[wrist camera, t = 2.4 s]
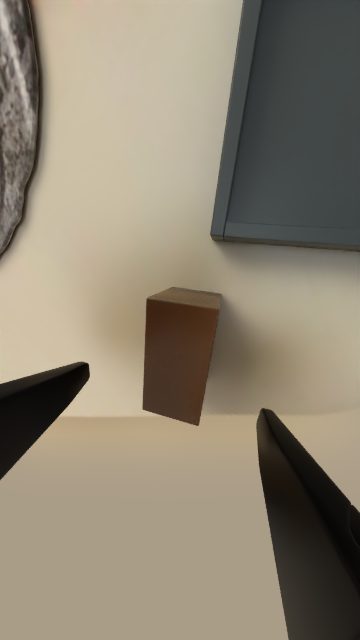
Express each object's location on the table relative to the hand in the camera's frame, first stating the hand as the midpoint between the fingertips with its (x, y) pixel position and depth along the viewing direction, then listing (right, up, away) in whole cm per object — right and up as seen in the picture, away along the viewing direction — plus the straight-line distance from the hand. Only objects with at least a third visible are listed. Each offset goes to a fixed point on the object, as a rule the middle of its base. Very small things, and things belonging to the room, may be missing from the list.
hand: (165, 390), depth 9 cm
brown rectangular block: (+2, +2, +6) cm, 7 cm away
